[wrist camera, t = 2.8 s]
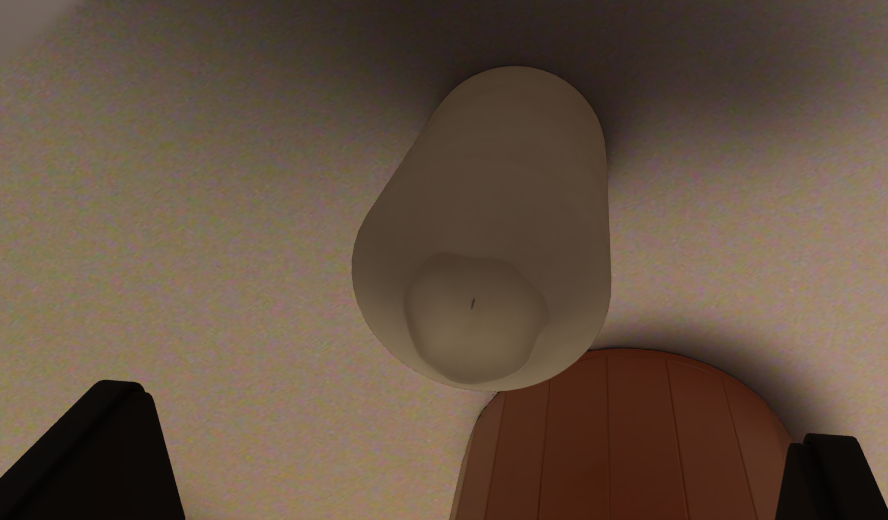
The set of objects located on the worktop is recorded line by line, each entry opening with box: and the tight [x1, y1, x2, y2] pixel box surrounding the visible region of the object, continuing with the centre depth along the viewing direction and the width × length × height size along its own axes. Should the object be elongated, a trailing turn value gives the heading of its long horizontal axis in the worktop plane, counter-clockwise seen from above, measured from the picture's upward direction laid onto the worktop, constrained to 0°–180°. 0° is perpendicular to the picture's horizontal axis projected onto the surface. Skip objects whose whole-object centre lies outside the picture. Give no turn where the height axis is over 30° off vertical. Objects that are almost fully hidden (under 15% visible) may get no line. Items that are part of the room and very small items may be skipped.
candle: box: [352, 66, 611, 392], centre depth 19 cm, size 6×6×10 cm
